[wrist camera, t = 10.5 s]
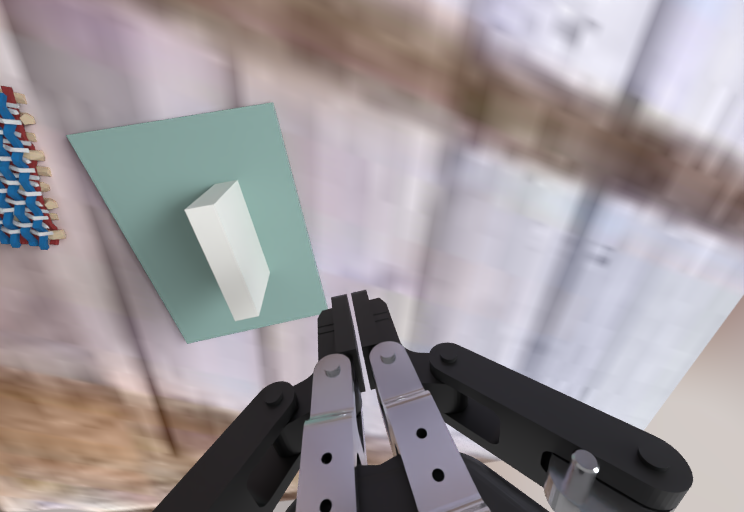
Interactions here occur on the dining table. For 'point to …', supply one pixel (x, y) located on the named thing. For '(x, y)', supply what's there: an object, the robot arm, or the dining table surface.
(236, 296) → the rectangular block
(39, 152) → the woven mat
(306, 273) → the mat
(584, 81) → the dining table surface
